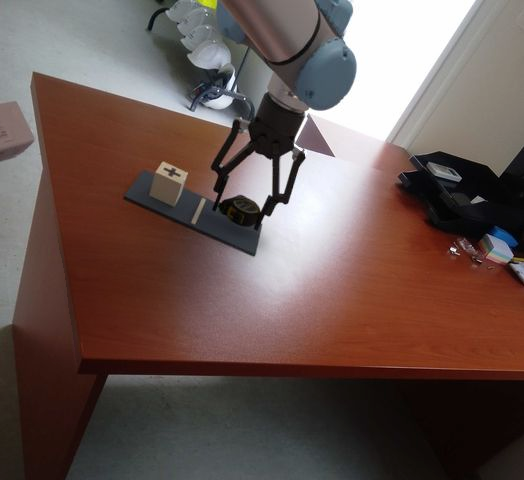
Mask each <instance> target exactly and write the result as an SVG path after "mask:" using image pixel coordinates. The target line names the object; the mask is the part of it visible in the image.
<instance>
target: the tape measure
mask: <svg viewBox="0 0 524 480" xmlns="http://www.w3.org/2000/svg"><path fill="white" fill-rule="evenodd" d="M218 207H219V210H220V212H221V213H222V214H223V215H226V216H227V217H228V218H229V219H230V220H231V221H232V222H234V223H235V224H237V225H240V226H244V227H250V226H253V225H254V224H255V223H256V222H257V220H258V218H259V215H260V212H261V208H260V206H259V205H258V203H256V201H255V200H253V199H250V198H249V197H247V196H245V195H243V194H237V195H235V196H232V197H229V198H224V199H223V200H222V201H221V202H219V205H218Z"/></svg>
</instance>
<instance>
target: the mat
mask: <svg viewBox="0 0 524 480" xmlns="http://www.w3.org/2000/svg"><path fill="white" fill-rule="evenodd" d="M154 176H155V173H153V172H151V171H149V170H147V169H142V171H141V172H140V173H139V174H138V176H137V177H136V179H135V180H134V181H133V183H132V184H131V186H130V187H129V189H128V190H127V191H126V192H125V194H124V195H123V199H124V200H125V201H128V202H130V203H133V204H135V205H137V206H139V207H142V208H144V209H146V210H147V211H151V212H153V213H155V214H157V215H158V216H159V215H160V216H162V217H164V218H165V219H168V220H171V221H173V222H176V223H178V224H180V225H182V226H184V227H187V228H189V229H191V230H193V231H196V232H198V233H200V234H203V235H204V236H207V237H209V238H211V239H214V240H216V241H218V242H220V243H223V244H225V245H227V246H230V247H232V248H234V249H236V250H237V251H240V252H243V253H245V254H247V255H250V256H252V257H255V256H256V255H257V250H258V246H259V242H260V238H261V237H260V236H261V233H262V229H263V223H261V224H260V226H259V228H258V230H254V226H255V224H254V225H253V226H250V227H244V226H240V225H237V224H235V223H234V222H232V221H231V220H230V219H229V218H228V217H227V216H226V215H223V214H222V213H221V212H220V210H219V207H217V209H216V212H215V211H213V210H212V208H213V206H214V203H215V201H213V200H212V199H209V198H207V197H205V196H203V195H201V194H199V193H196V192H194V191H192V190H190V189H188V188H186V187H183V190H182V193H181V195H180V197H179V199H178V201H177V203H176V205H175V206H174V207H173V206H171V205H169V204H167V203H164V202H162V201H160V200H158V199H155V198H153V197H151V196H149V194H150V190H151V186H152V183H153V179H154ZM218 205H219V204H218Z"/></svg>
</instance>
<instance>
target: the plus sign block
mask: <svg viewBox="0 0 524 480" xmlns="http://www.w3.org/2000/svg"><path fill="white" fill-rule="evenodd" d="M188 173H189V172H187V171H185V170H183V169H180V168H178V167H176V166H174V165H172V164H171V163H168V162H166V161H162V162H161V163H160V165H159V166H158V168H157V169H156V171H155V172H154V174H155V176H154V179H153V183H152V186H151V190H150V194H149V196H151V197H153V198H155V199H158V200H160V201H162V202H164V203H167V204H169V205H171V206H173V207H174V206H175V205H176V203H177V201H178V199H179V197H180V195H181V193H182V190H183V188H185V184H186V180H187V178H188Z"/></svg>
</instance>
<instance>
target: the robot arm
mask: <svg viewBox="0 0 524 480" xmlns="http://www.w3.org/2000/svg"><path fill="white" fill-rule="evenodd" d="M353 14H354V6H353V5H352V3H351V1H350V0H216V8H215V17H216V18H215V19H216V24H217V28H218V30H219V32H220V34H221V35H222V36H223V37H224V38H226V39H228V40H231V41H232V42H234V43H235V44H236V45H243V46H245V47H248V48H250V49H251V51H253V53H254V54H255V55H257V56H258V58H259V59H260V60H261V61H262V62H263V63H264V64H265V65H266V66H267V67H268V68H269V69H270V70H271V71H272V73H271V76H270V79H269V82H268V83H267V86H266V89H267V92H265V93H264V94H263V96H262V99H261V101H260V103H259V107H258V108H257V111H256V114H255V116H254V117H253V118H252V119H251V120H250V121H249V120H246V119H244V118H242V116H241V115H235V117H234V119H233V121H232V124H231V129H230V132H229V134H228V135H227V137H226V139H225V141H224V143H223V144H222V145H221V148H220V149H219V151H218V152H217V154H216V156H215V157H214V159H213V161H212V162H211V165H210V170H211V171H213V172H215V173H216V174H217V177H216V180H215V183H214V186H213V192H214V193H216V194H217V196H216V198H215V201H214V202H215V203H214V206H213V208H212V210H213V211H215V212H216V209H217V207H218V204H219V202H220V201H221V199H222V196H223V194H224V192H225V189H226V187H227V184H228V182H229V179H230V175H229V174H230V173H232V172H233V171H234V170H235V169H236V168H237V167H238V166H239V165H240V164H241V163H242V162H244V161H245V160H246V159H247V158H248V157H249V156H251V155H252V154H253V153H255V154H257V155H260V156H263V157H265V158H266V159H267V160H269V161H271V162H272V164H271V167H272V170H271V172H272V173H271V174H272V175H271V180H272V181H271V187H272V188H271V194H268V195H267V197H266V200H265V202H264V203H263V205H262V208H261V209H260V215H259V218H258V220H257V222H256V223H255V226H254V230H258V228H259V226H260V224H262V222H263V220H264V218H265V217H268V218H270V217H271V216H272V214H273V213H274V210H275V208H276V207H277V205H278V204H283V205H285V206H286V205H288V204H289V202H290V199H291V196H292V192H293V189H294V186H295V183H296V179H297V176H298V173H299V169H300V167H301V166H302V164H303V163H304V162H305V160H306V157H307V149H306V148H304V147H303V148H301V147H299V146H298V145H297V144H296V137H297V135H298V133H299V130H300V129H301V127H302V124H303V123H304V120H305V118H306V112H307V111H309V110H310V109H311V110H313V111H316V112H317V111H318V112H323V111H328V110H331V109H333V108H334V107H336V106H337V105H339V104H340V103H341V101H343V100H344V98H345V97H347V95H348V94H349V93H350V91H351V89H352V88H353V85H354V83H355V80H356V76H357V71H358V64H357V58H356V56H355V54H354V52H353V51H352V49H351V48H349V46H348V45H347V44H346V41H345V40H344V39H345V35H346V34H347V33H346V32H347V30H348V28H349V26H350V23H351V21H352V18H353V16H354V15H353ZM245 130H248V135H249V141H248V142H247V143H246V144H245V145H244V146H243V147H242V148H241V149H240V150H239V151H238V152H237V153H235V155H233V156H232V158H230V159H229V160H228V161H227V162H226V163H225V164H224V165H223V164H222V162H223V161H224V159H225V158H226V156H227V154H228V153H229V151H230V149H231V148H232V146H233V145H234V143H235V141H236V139H237V137H238V135H239V134H240V135H241V134H243V133H244V131H245ZM290 152H292V155H291V158H292V160H293V161H292V164H291V167H290V170H289V174H288V178H287V180H286V184H285V187H284V191H283V193H281V191H280V190H281V161H282V160H281V159H282V157H283V156H284V155H286V154H288V153H290ZM220 203H221V202H220Z"/></svg>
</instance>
